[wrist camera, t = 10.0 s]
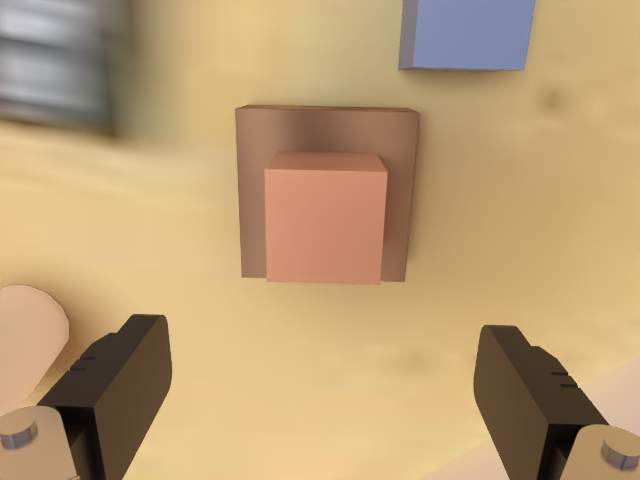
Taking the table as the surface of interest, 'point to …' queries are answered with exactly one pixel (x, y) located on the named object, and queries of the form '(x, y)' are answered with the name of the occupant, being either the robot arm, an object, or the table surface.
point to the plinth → (325, 136)
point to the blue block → (465, 35)
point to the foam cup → (27, 341)
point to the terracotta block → (325, 217)
